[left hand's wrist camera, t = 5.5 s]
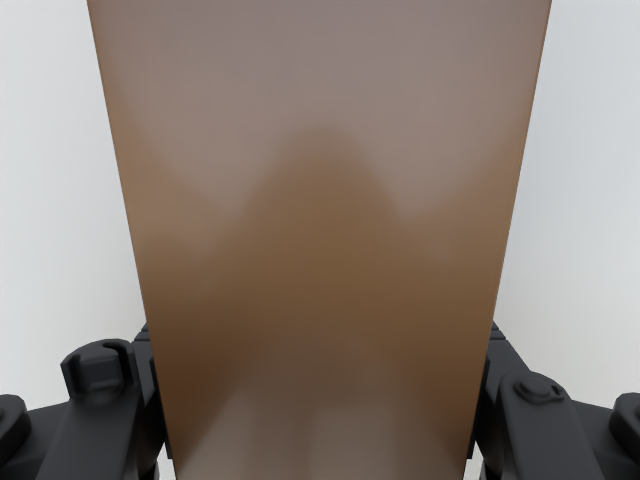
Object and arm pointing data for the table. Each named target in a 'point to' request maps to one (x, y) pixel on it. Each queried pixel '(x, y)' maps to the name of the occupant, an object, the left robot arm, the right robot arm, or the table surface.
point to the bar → (319, 221)
